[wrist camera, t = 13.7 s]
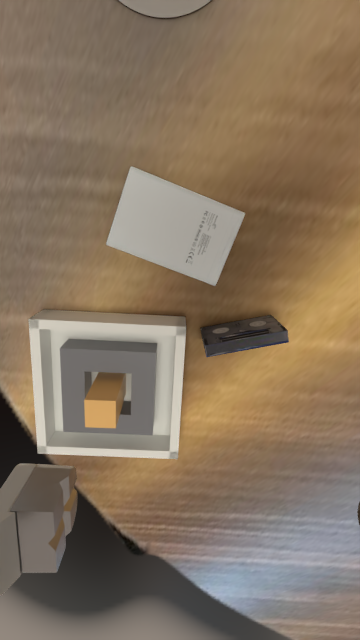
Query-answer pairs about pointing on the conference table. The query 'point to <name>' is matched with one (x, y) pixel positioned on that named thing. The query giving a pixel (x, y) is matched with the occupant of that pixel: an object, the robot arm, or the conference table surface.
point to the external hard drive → (174, 226)
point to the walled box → (112, 357)
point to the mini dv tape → (243, 335)
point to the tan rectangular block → (105, 400)
